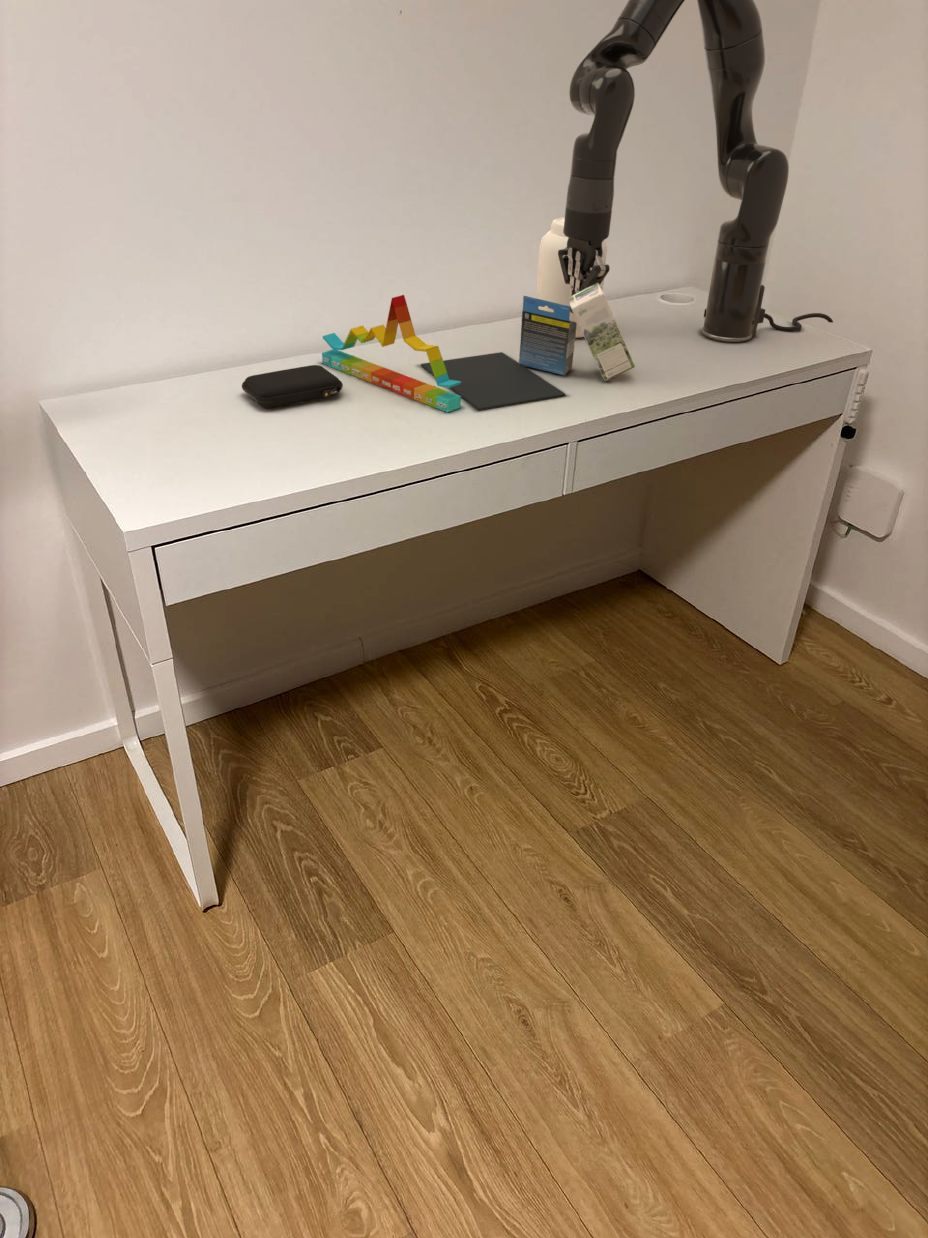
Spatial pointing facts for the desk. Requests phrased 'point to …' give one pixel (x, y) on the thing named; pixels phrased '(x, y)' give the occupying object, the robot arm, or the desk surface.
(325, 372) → the carrying case
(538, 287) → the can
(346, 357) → the chart
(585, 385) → the desk surface
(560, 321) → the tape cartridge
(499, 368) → the mat
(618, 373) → the syrup box
